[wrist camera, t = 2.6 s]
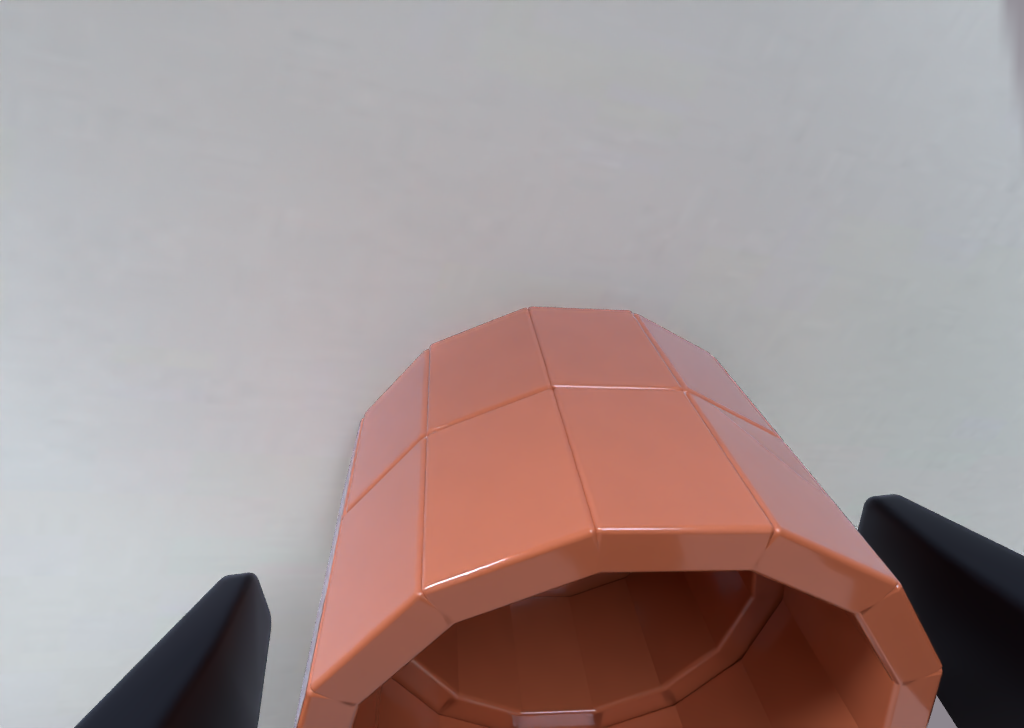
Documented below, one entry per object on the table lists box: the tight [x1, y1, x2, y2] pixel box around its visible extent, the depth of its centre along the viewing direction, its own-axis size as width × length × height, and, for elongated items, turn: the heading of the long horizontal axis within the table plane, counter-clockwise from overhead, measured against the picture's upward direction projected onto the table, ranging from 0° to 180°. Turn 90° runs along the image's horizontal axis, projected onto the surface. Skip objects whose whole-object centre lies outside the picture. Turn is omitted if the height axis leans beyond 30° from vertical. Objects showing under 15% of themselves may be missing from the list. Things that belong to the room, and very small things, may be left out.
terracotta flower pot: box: [293, 307, 943, 728], centre depth 9 cm, size 7×7×5 cm
